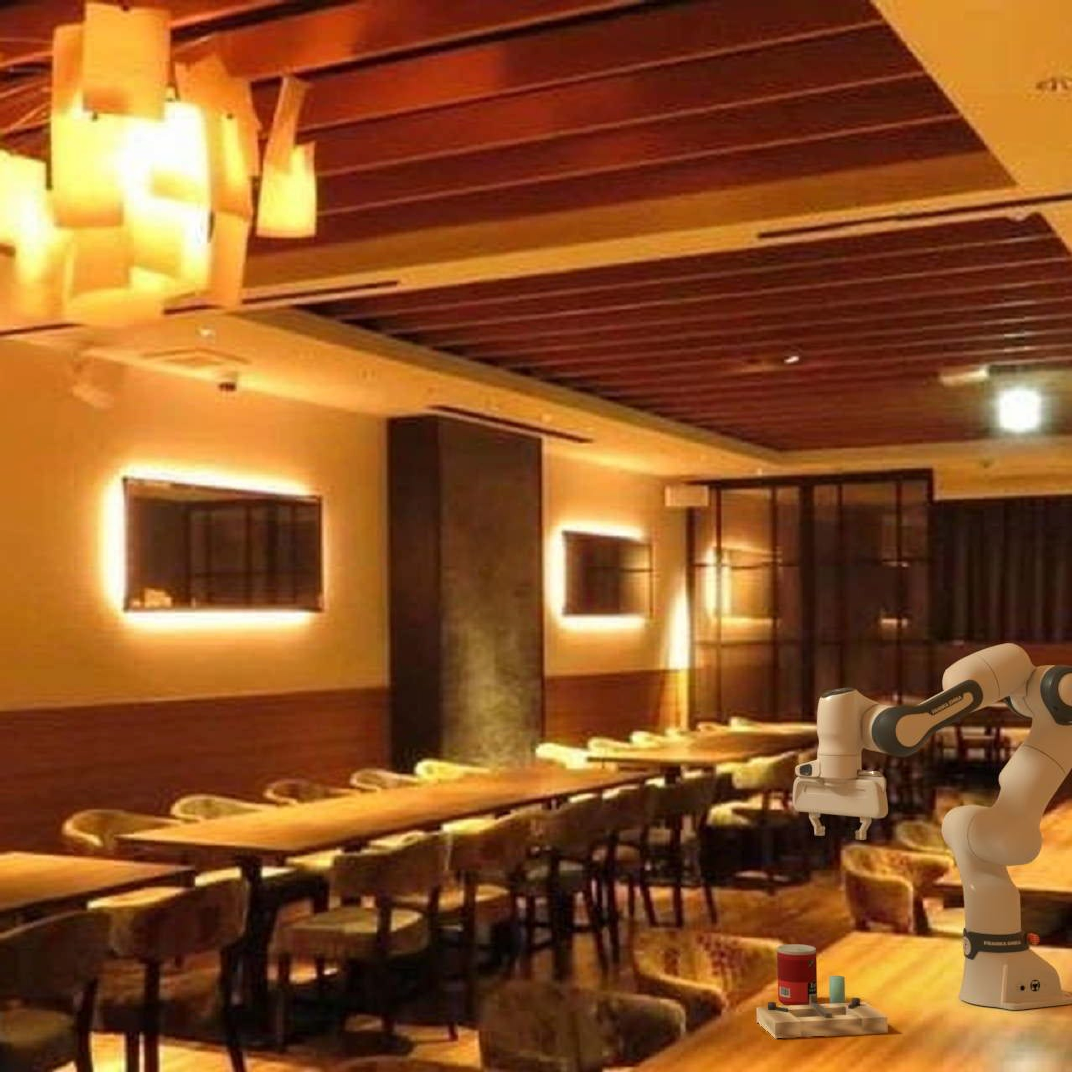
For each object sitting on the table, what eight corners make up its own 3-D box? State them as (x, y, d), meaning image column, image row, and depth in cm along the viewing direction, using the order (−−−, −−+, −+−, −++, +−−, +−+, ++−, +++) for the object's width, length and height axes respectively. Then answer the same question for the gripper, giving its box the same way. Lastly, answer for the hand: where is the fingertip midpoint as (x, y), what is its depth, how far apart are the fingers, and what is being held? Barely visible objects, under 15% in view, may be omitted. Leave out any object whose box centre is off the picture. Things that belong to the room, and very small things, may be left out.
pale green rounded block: (842, 1010, 312) (841, 975, 312) (847, 1014, 309) (846, 978, 310) (827, 1011, 312) (827, 975, 312) (832, 1015, 309) (832, 979, 309)
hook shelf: (864, 1017, 307) (864, 990, 307) (887, 1033, 295) (887, 1005, 295) (756, 1022, 303) (756, 995, 304) (775, 1039, 291) (774, 1010, 292)
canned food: (817, 1007, 315) (815, 952, 316) (777, 1006, 317) (775, 951, 317) (817, 998, 322) (816, 944, 323) (778, 997, 324) (777, 943, 325)
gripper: (893, 770, 312) (894, 840, 311) (804, 764, 325) (805, 831, 324) (877, 772, 307) (878, 843, 306) (788, 766, 320) (788, 834, 320)
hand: (840, 837), depth 315 cm, fingers open, 8 cm apart
